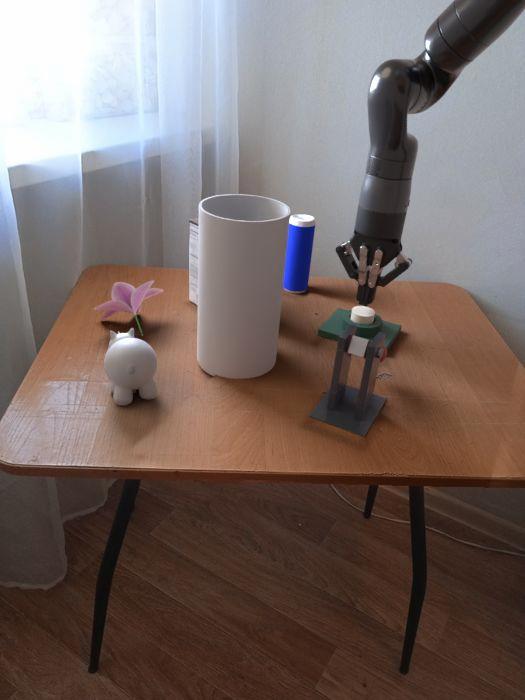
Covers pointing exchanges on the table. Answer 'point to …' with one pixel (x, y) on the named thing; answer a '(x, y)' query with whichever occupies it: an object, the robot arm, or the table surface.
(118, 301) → the lily
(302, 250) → the beverage can
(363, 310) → the button
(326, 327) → the button box
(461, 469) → the table surface
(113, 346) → the chubby cartoon animal
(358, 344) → the tap lever
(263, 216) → the cylinder vase
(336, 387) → the grey lever stand
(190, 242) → the coffee box
